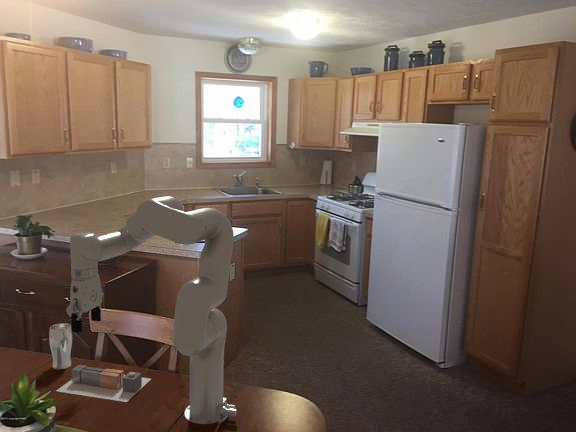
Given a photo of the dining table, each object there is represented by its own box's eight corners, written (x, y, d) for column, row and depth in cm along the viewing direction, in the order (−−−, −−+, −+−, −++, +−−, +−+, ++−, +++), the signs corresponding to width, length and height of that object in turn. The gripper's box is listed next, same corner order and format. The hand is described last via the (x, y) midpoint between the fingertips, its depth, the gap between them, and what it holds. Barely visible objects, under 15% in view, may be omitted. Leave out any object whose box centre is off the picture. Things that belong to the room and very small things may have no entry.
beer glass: (64, 374, 164) (62, 331, 162) (46, 372, 165) (44, 329, 163) (77, 365, 171) (75, 324, 168) (59, 363, 172) (57, 322, 170)
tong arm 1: (120, 386, 154) (119, 373, 153) (116, 389, 152) (116, 376, 151) (75, 379, 158) (75, 367, 157) (71, 382, 156) (71, 369, 155)
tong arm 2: (124, 382, 156) (124, 370, 156) (121, 385, 154) (120, 373, 154) (79, 376, 159) (78, 364, 159) (75, 379, 158) (74, 367, 157)
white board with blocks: (151, 382, 160) (151, 364, 159) (126, 405, 146) (126, 386, 145) (85, 372, 165) (85, 355, 164) (55, 394, 151) (55, 375, 150)
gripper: (77, 281, 142) (80, 337, 145) (111, 267, 159) (113, 317, 161) (55, 279, 144) (57, 335, 146) (90, 265, 160) (92, 315, 163)
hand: (86, 326), depth 154 cm, fingers open, 9 cm apart
